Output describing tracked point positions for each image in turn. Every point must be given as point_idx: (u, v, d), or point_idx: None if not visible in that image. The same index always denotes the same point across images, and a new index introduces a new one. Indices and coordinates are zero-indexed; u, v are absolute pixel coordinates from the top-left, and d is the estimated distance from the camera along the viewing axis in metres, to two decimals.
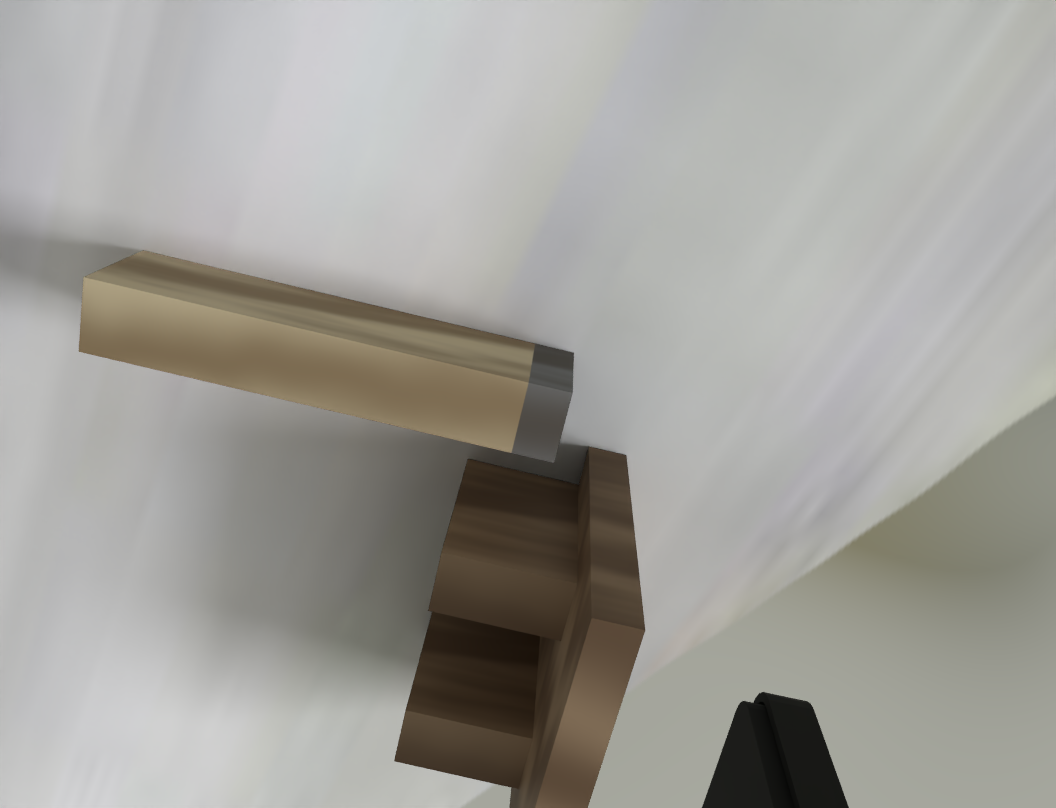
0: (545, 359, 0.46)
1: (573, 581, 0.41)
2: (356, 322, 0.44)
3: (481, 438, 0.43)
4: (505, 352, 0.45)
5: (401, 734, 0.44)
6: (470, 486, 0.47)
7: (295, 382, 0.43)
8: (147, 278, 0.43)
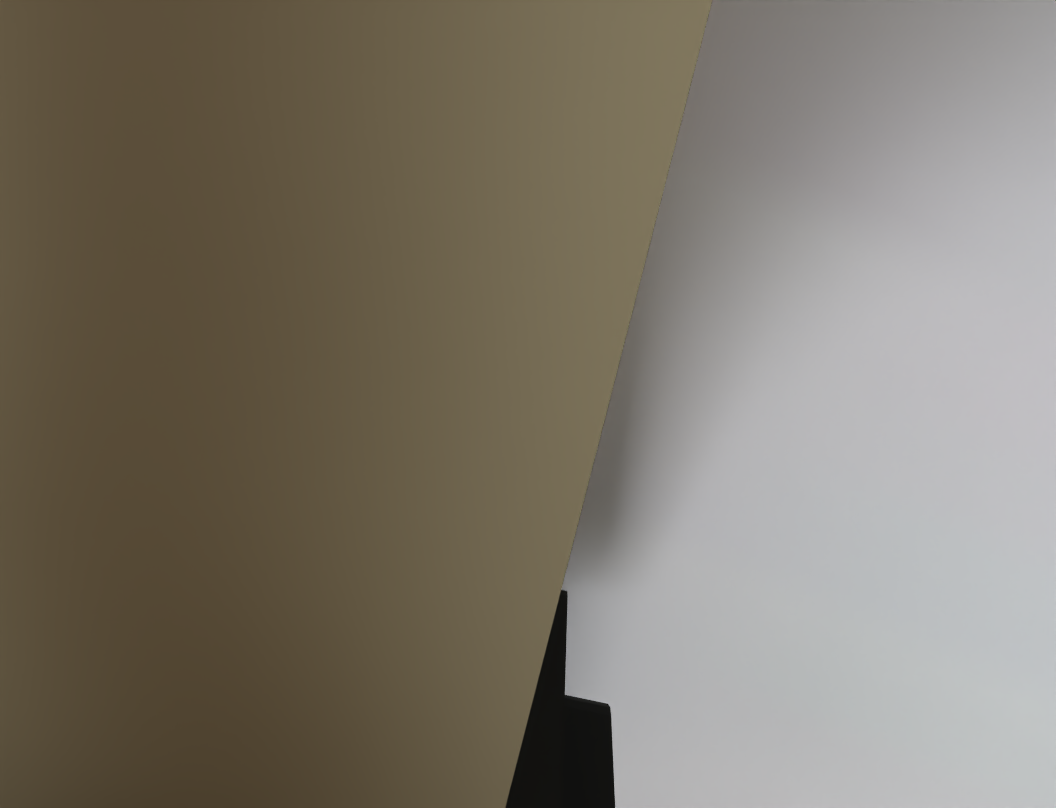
0: None
1: None
2: None
3: None
4: None
5: None
6: None
7: None
8: None
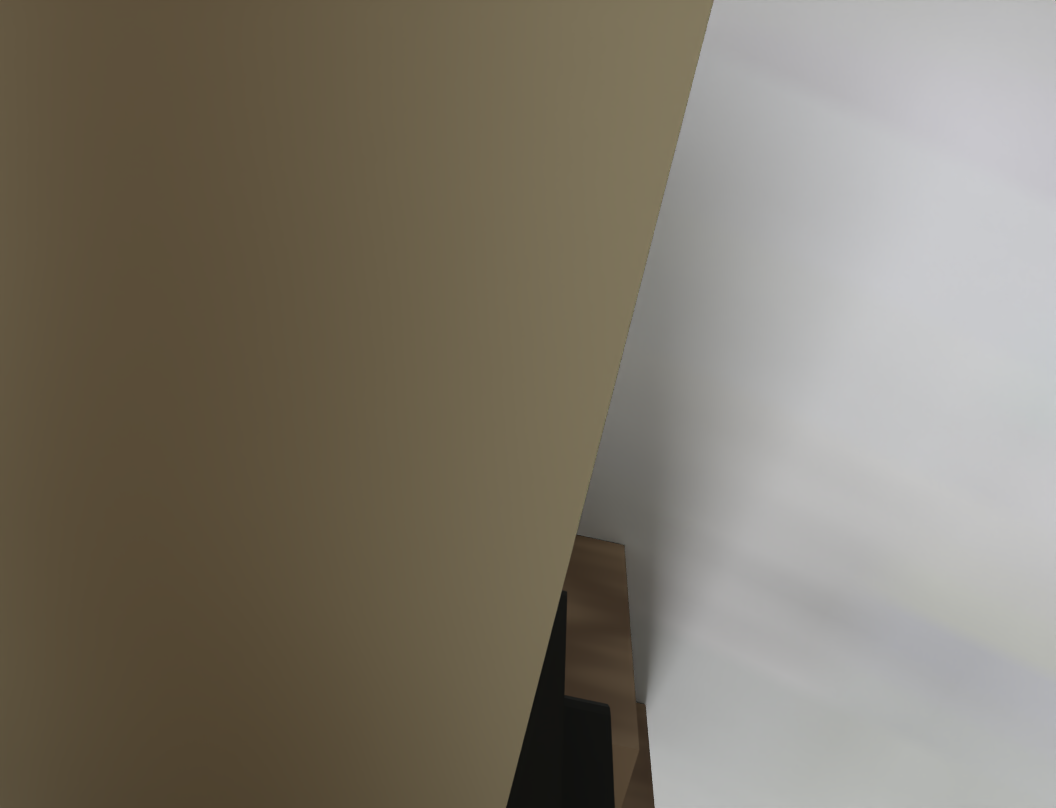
0: None
1: None
2: None
3: None
4: None
5: None
6: None
7: None
8: None
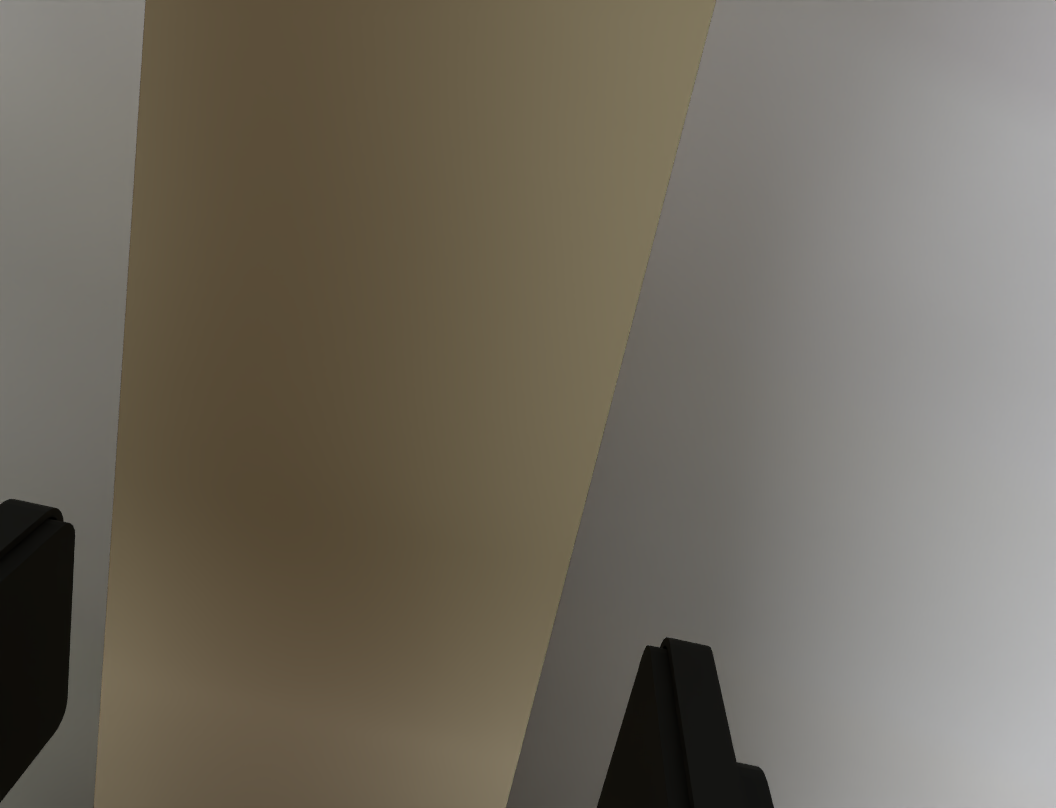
0: None
1: None
2: None
3: None
4: None
5: None
6: None
7: (205, 783, 0.08)
8: None
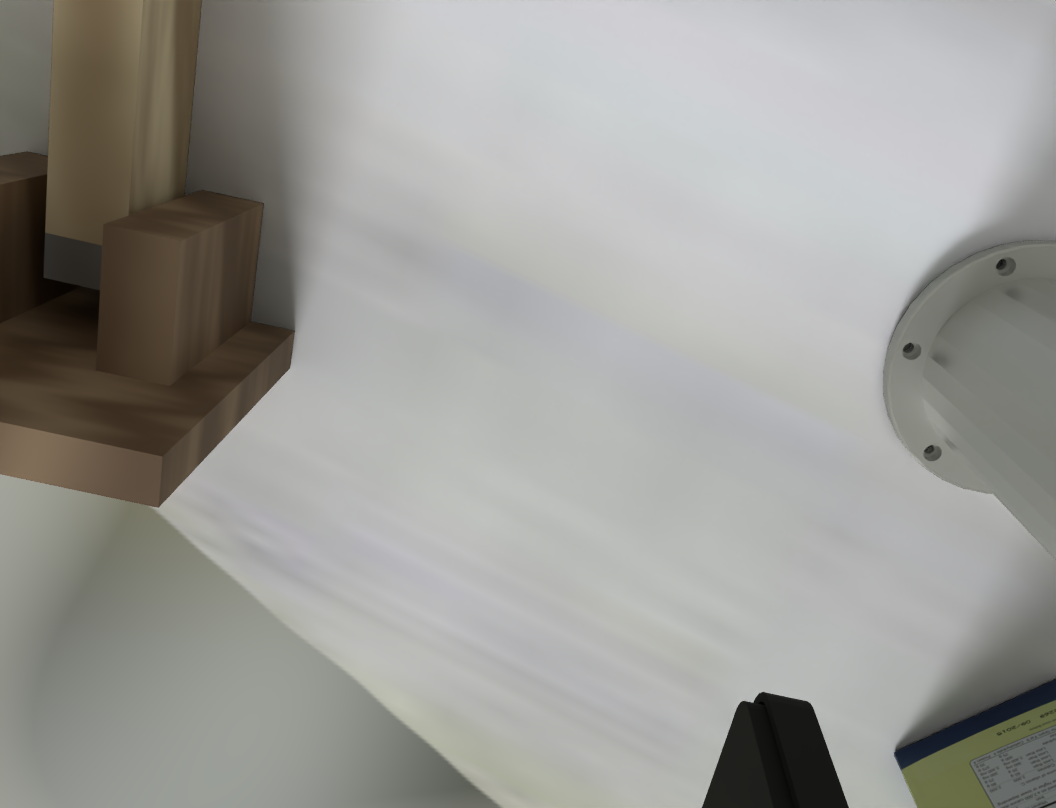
0: None
1: (170, 380, 0.38)
2: (167, 46, 0.40)
3: (54, 200, 0.40)
4: None
5: None
6: (240, 224, 0.43)
7: None
8: None
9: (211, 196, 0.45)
